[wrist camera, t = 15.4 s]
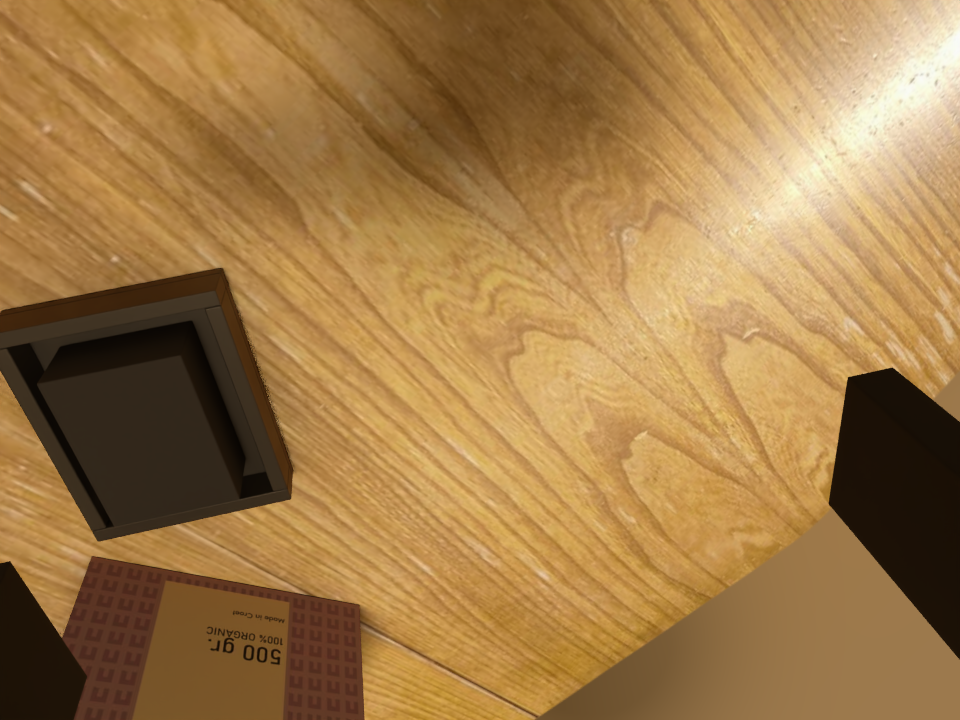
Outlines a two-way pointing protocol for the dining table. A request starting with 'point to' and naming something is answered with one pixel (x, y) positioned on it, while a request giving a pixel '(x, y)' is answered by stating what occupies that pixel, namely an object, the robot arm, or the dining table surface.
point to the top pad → (146, 422)
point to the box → (210, 649)
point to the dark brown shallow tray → (196, 297)
